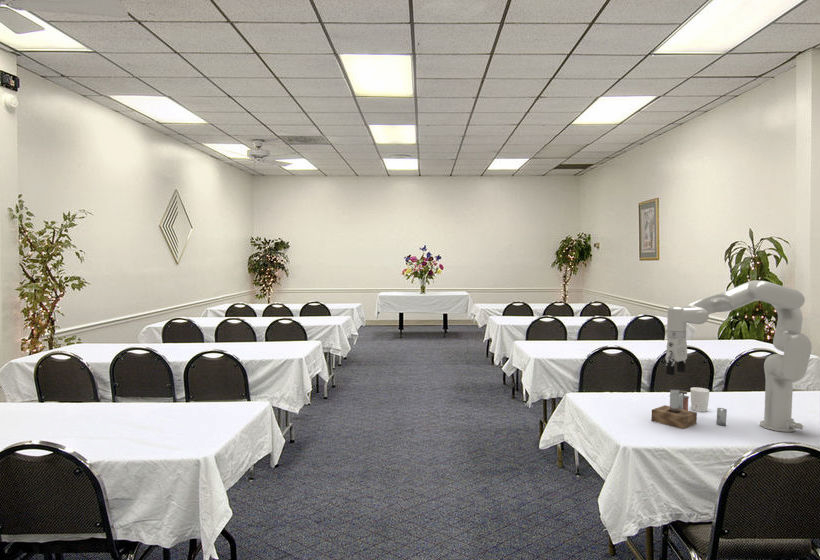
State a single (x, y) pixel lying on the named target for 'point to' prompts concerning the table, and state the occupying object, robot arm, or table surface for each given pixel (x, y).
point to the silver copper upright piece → (684, 399)
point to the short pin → (721, 416)
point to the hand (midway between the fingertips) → (675, 373)
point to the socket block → (674, 417)
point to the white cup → (699, 399)
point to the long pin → (674, 401)
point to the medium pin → (680, 401)
